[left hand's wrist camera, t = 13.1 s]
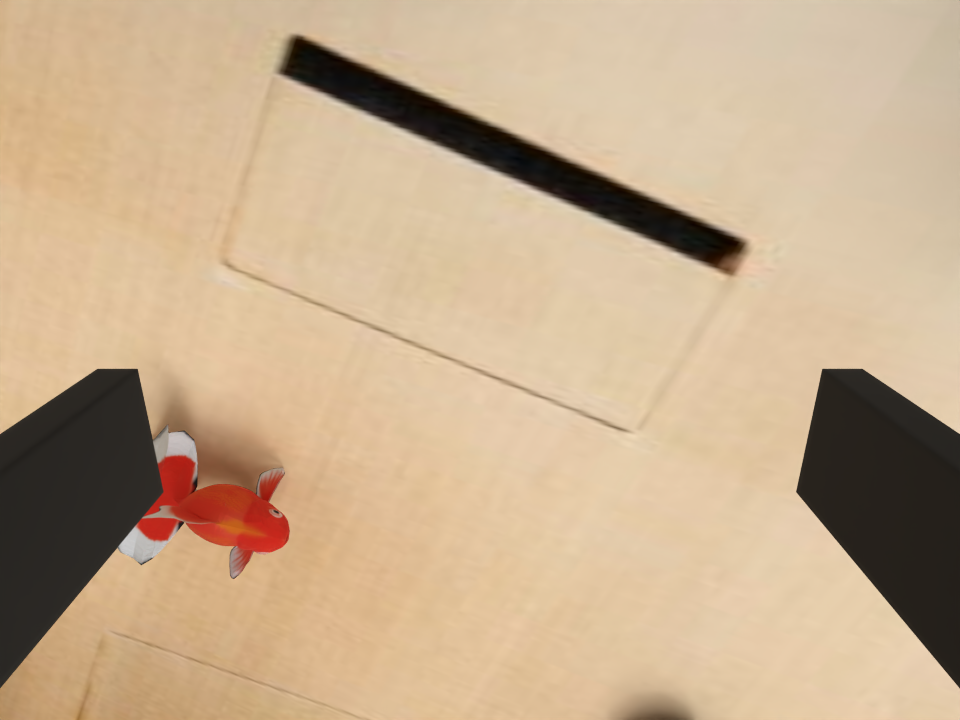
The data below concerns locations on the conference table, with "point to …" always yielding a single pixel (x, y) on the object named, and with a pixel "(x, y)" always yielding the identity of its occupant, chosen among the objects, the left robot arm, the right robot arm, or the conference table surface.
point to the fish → (207, 509)
